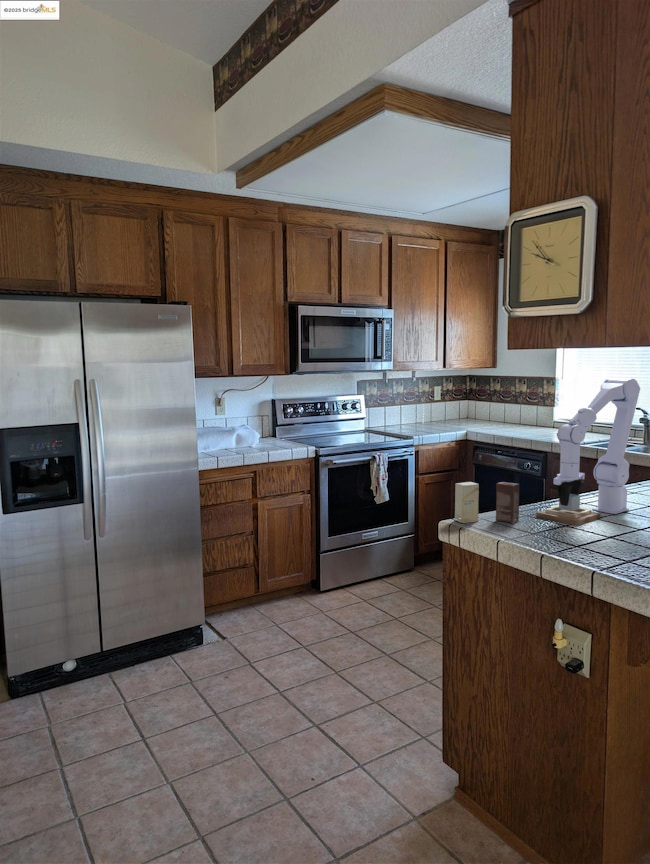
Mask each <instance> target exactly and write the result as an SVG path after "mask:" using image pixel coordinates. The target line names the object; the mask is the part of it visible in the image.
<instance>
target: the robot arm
mask: <svg viewBox="0 0 650 864" xmlns="http://www.w3.org/2000/svg"><path fill="white" fill-rule="evenodd" d="M640 393H641V387H640V385H639V382H638V381H637V379H636V378H633V377H632V378H631V377H630V378H613V377H608V378H606V379H605V380H604V381H603V382H602V383H601V384H600V390H599V392H598V393H597V394H596V396H595V397H594V398H593V399H592V400H591V402H590V404H589V405H588V406H587V407H582V408H579V409H577V413H576V414H575V415H574V416H573V417H572V418H571V419H570V420H569V421H568V422H567V423H565V424H562V425H560V427H559V429H558V431H557V432H556V438H557V439H558V441H559V443H558V444H559V447H560V459H559V460H560V461H559V462H560V463H559V465H560V466H559V473H557V474H556V477H554V478H553V487H554V489H555V490H556V493H557V495H558V500H559V499H560V504H561V505H564V506H567V505H568V502H569V495H570V494H576V495H580V493H581V491H582V488H583V487H584V486H585V481H584V480H585V477H586V476H585V475H586V474H585V472H580V464H581V463H580V461H581V457H580V456H581V443H582V442H583V441H584V440H585V437H586V434H587V431H588V429H589V428H590V427H591V426H592V425H593V424H594V423H595V422H596V421H597V414H598V413H600V411H602V410H603V409H604V408H605V407H606V406H607V405H608V404H609V403H610V402H611V403H612V404H613V405H614V406H615V407H616V412H615V415H614V420H613V423H612V427H611V428H612V429H611V432H610V436H609V440H608V444H607V448H606V452H605V453H606V454H603V455H602V456H600V457H599V458H598V460H597V463H596V464H595V466H594V468H593V477H594V479H595V480H596V484H598V494H597V506H596V507H592V509H591V511H596V512H600V513H601V512H602V513H607V514H612V515H617V514H621V513H623V512H627V511H629V510H630V508H628V507H627V505H628V504H627V503H628V490H627V487H626V486H625V485H626V483H627V482H628V480H629V479H630V471H629V470H630V463H629V462H628V461H627V459H625V458H624V457H625V453H626V448H627V445H628V441H629V437H630V433H631V429H632V424H633V421H634V420H633V419H634V417H635V413H636V409H637V404H638V400H639V396H640Z"/></svg>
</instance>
